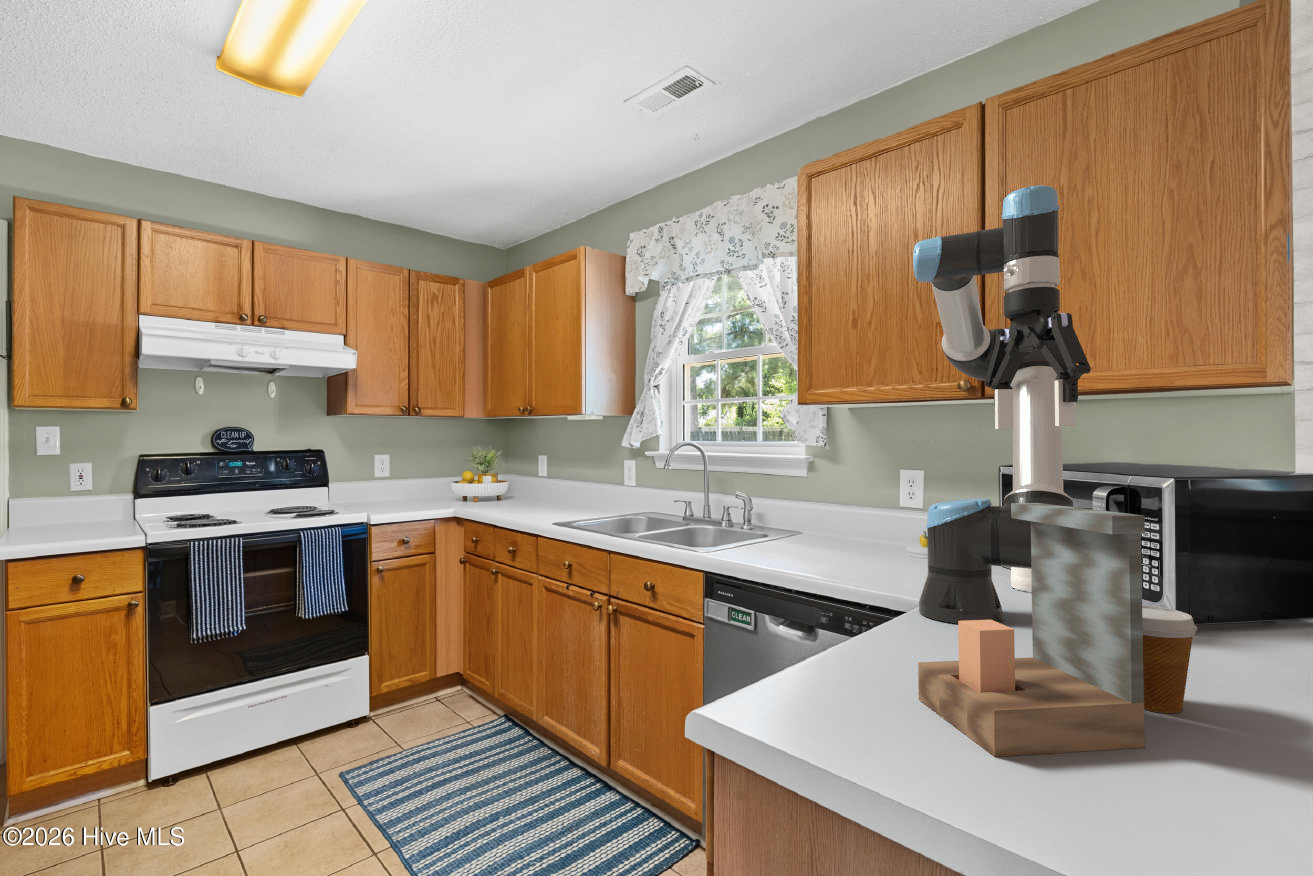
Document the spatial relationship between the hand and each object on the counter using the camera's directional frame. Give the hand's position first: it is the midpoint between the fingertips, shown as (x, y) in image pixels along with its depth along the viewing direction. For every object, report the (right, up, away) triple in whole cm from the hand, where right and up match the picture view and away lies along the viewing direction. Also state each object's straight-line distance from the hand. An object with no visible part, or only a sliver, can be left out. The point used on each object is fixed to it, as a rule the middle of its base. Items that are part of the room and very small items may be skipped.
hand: (1033, 427), depth 99 cm
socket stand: (-13, -36, -20) cm, 44 cm away
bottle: (+30, -38, +53) cm, 72 cm away
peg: (-18, -37, -21) cm, 45 cm away
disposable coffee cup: (+7, -37, -15) cm, 40 cm away
